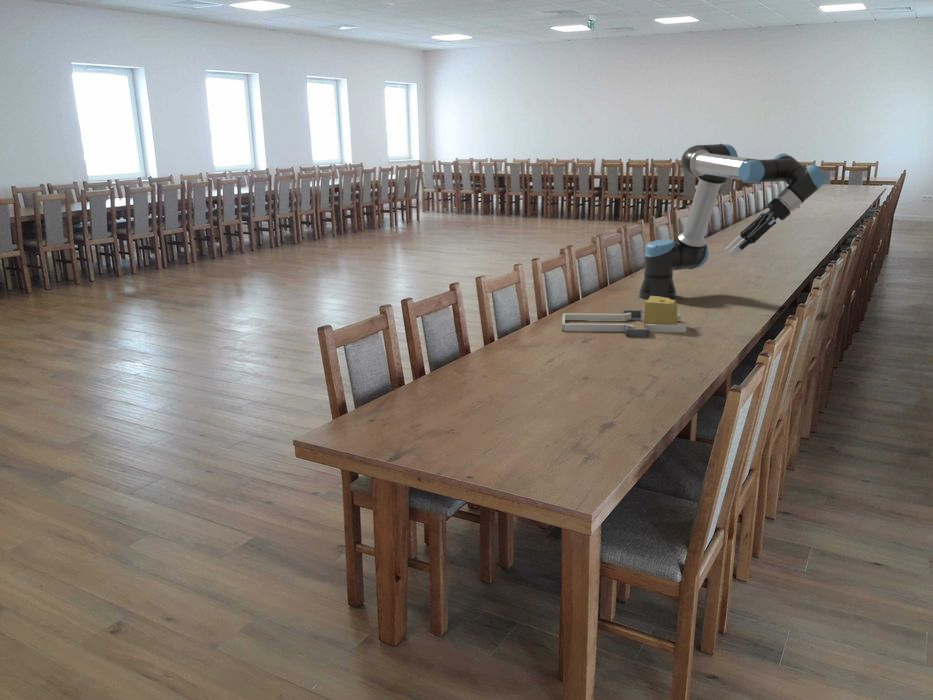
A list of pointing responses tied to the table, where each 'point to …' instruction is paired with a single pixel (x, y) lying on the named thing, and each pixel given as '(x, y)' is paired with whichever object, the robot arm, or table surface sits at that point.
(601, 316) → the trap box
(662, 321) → the cheese
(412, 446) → the table surface
